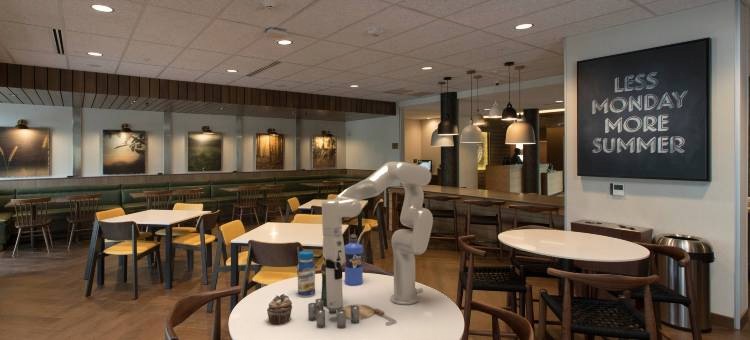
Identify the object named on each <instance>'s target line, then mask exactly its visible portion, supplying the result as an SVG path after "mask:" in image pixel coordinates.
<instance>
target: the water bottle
mask: <svg viewBox="0 0 750 340" xmlns="http://www.w3.org/2000/svg"><path fill="white" fill-rule="evenodd" d="M348 240H349V242H348V243H346V245H345V244H344V248H345V263H344V284H345V286H349V287H358V286H361V285H363V280H364V279H363V273H364V272H363V270H364V269H363V260H362V259H363V253H364V251H363V250H364V248H363V247H364V246H363V245H362V244H360V243H358V241H359V239H358V235H356V234H355V233H352V234H350V236H349V239H348Z"/></svg>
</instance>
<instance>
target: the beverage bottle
mask: <svg viewBox="0 0 750 340" xmlns="http://www.w3.org/2000/svg"><path fill="white" fill-rule="evenodd" d="M298 260H299V262H298V263H297V267H296V268H297V272H296V274H297V295H298V297H300V298H309V297H313V296H314V295H315V294H316V269H315V267H316V265H315V262H314V261H313V260H314V252H313V250H302V251H299V252H298Z"/></svg>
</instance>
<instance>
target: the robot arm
mask: <svg viewBox="0 0 750 340" xmlns="http://www.w3.org/2000/svg"><path fill="white" fill-rule="evenodd" d="M431 179H432V173H431V171H430V170H429V168H427V167H425V166H422V165H418V164H415V163H414V164H413V163H410V162H404V161H388V162H386V163H384V164H383V165H381V166H380V167H379V168H378V169H377V170H375V171H374V172H373V173H372V174H371V175H369V176H368V177H367V178H365V179H363V180H361V181H359V182H357V183H355V184H353V185H351V186H349V187H348V188H346V189H344V190H343V191H342V192H341V193H339V194H338V195H337V196H336V197H335V198H333V199H326V200H323V201H322V202H321V219H322V220H321V222H322V223H321V224H322V257H323V261H324V263H325V271H326V260H330V261H333V262H334V265H335V269H334V274H335V280H337V279H341V278H342V279H343V268H344V266H345V261H346V259H345V248H344V246H345V243H344V237H343V221H342V220H343V219H342V218H355V217H357V216H359V215H360V214H361V212H362V209H363V207H362V203H361V202H360V201H362V200H365V199H369V198H374V197H377V196H378V195H380V194H382V193H383V192H384V191H385V190H386V189H387V188H388V187H389V186H391V185H392V184H393V183H395V182H398V183H401V185H402V187H403V189H404V200H403V203H402V204H403V205H402V207H401V213H400V216H399V220H400V223H401V225H403V226H405V227H408V228H411V229H412V230H409V229H405V228H402V229H401V228H400V229H398V230H395V231H394V232H393V234H392V236H391V248H392V253H393V294H392V295H391V296H389V297H390V301H391V302H392V303H394V304H397V305H405V306H406V305H408V306H409V305H414V304H416V303H418V302H419V296H418V295H419V294H421V293H423V292H424V290H423V287H420V288H417V287H416V257H415V255H416V256H420V255H423V254H424V253H425V252H426V250H427V248H428V245H429V242H430V237H431V233H432V229H433V224H434V218H433V213H432V212H431V211H430V209H428V208H426V207H423V204H424V198H425V197H424V196H425V195H424V190H423V188H422V187H425V186H427V185H428V184H430V182H431ZM337 259H339V261H337ZM338 262H339V264H338V265H337V263H338Z"/></svg>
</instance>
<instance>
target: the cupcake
mask: <svg viewBox="0 0 750 340" xmlns="http://www.w3.org/2000/svg"><path fill="white" fill-rule="evenodd" d="M292 302H293V301H292V300H291V299H290V297H289V296H288V295H285V294H284V293H282V294H280V296H279V295H275V296H274V298H273V299H272V300H271V301H270V302H269V303H268V307H267V308H266V311H267V317H268V323H269V324H270V325H275V326H281V325H284V324H287V323H289V322H290V320H291V315H292V309H293V305H292V304H293V303H292Z"/></svg>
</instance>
